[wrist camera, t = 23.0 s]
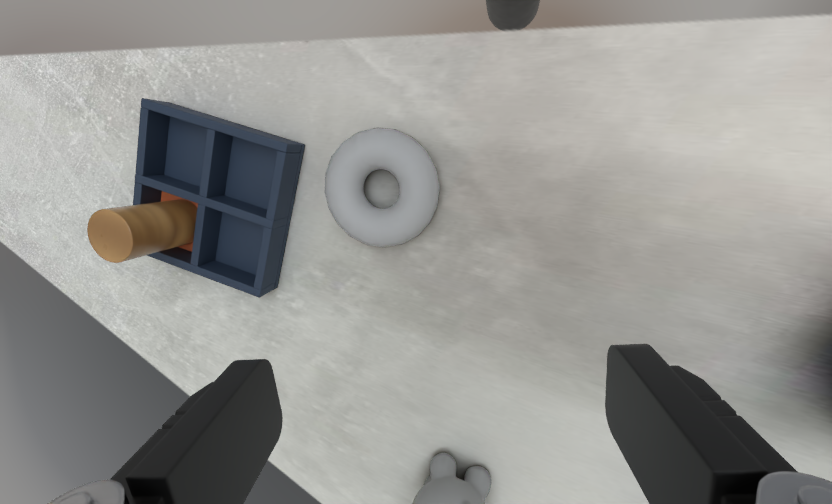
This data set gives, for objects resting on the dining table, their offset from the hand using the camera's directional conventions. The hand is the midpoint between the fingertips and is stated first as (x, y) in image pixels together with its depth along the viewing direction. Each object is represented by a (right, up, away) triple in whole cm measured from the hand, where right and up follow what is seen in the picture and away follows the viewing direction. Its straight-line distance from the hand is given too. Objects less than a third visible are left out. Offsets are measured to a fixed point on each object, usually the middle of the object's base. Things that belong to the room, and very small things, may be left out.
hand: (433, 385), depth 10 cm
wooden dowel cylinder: (-23, +6, +31) cm, 39 cm away
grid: (-19, +9, +30) cm, 37 cm away
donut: (-3, +9, +26) cm, 28 cm away
